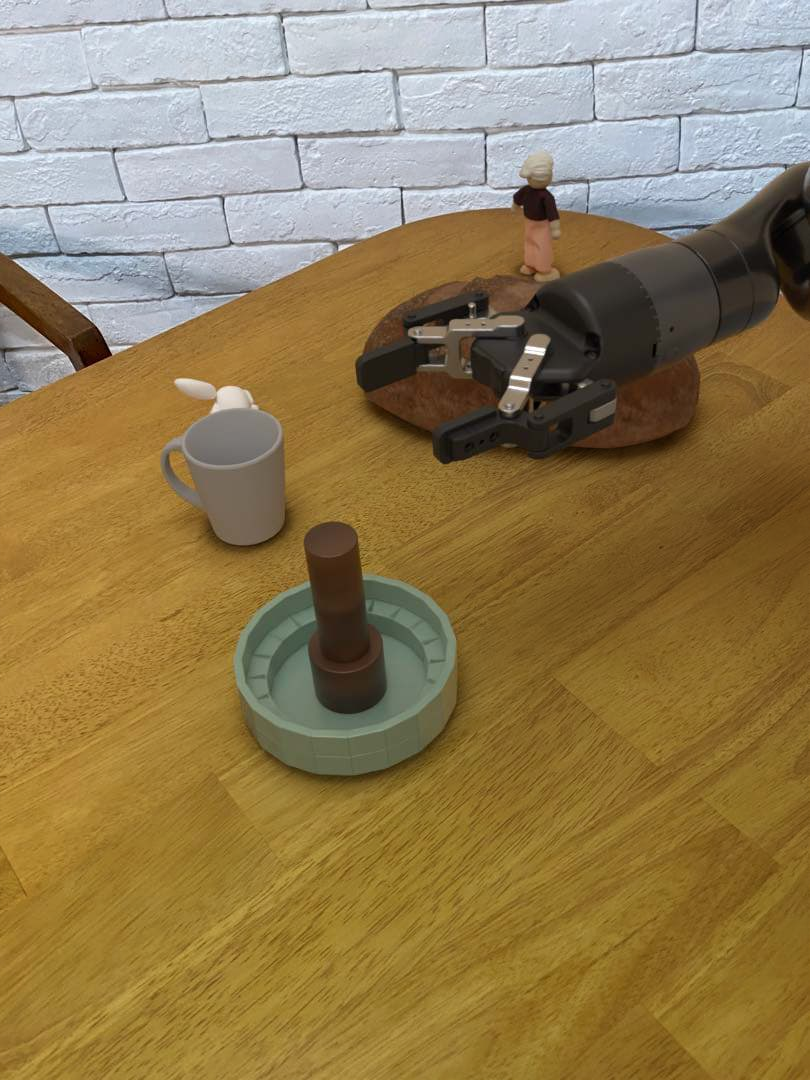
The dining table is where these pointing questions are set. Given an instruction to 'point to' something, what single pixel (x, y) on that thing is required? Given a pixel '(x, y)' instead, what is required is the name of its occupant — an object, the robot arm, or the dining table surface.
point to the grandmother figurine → (538, 217)
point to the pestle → (342, 623)
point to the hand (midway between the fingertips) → (395, 410)
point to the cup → (234, 473)
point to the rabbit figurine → (216, 394)
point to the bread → (638, 406)
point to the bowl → (361, 738)
